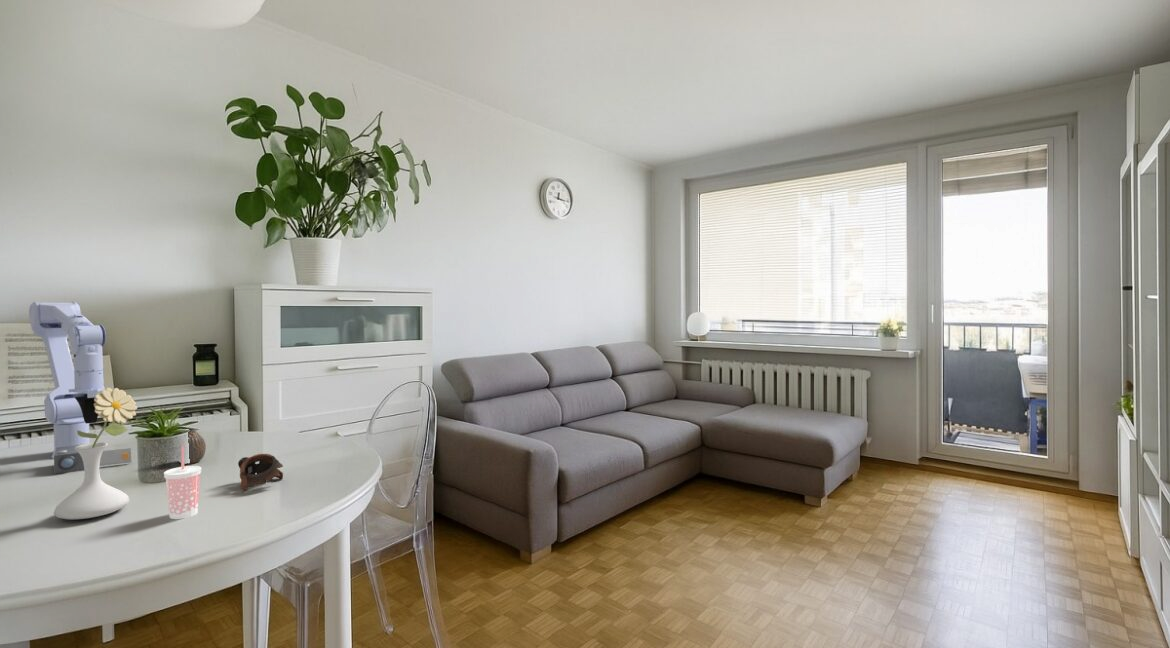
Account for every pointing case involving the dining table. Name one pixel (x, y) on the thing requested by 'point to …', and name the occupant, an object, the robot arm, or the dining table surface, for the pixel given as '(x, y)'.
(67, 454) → the camera body
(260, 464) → the brown curved piece
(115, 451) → the side door
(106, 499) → the flower in vase
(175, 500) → the beverage cup
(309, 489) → the dining table surface
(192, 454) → the brown ribbed ovoid
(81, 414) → the robot arm
